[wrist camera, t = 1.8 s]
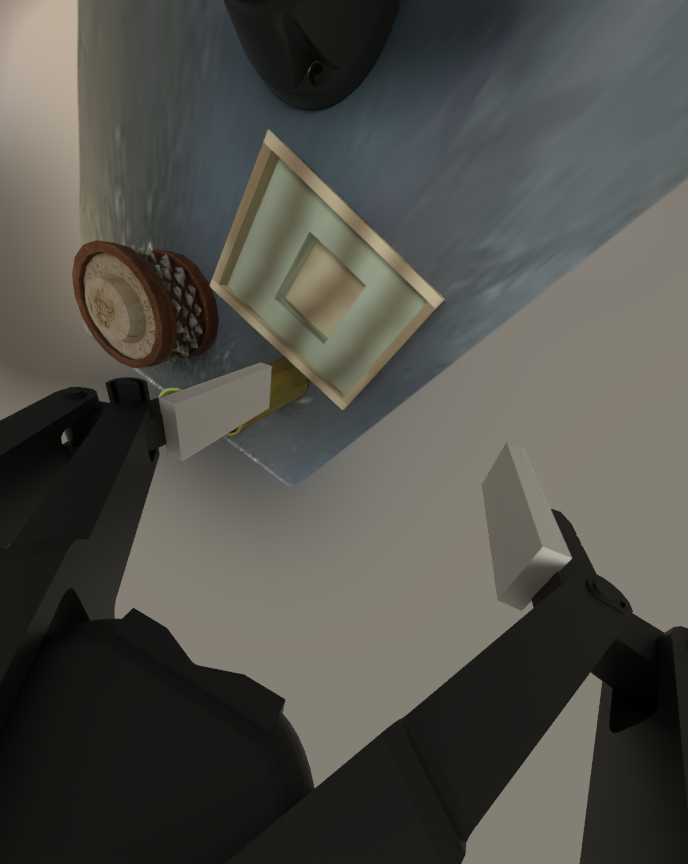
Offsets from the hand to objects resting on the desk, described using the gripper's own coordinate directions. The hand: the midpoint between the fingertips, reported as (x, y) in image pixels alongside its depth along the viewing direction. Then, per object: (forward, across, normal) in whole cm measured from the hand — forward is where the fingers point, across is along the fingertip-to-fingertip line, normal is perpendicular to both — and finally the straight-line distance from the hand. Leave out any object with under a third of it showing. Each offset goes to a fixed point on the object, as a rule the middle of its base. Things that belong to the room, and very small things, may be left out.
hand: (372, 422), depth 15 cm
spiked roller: (+22, -36, -3) cm, 42 cm away
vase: (+22, -17, -8) cm, 29 cm away
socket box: (+22, -12, +4) cm, 25 cm away
